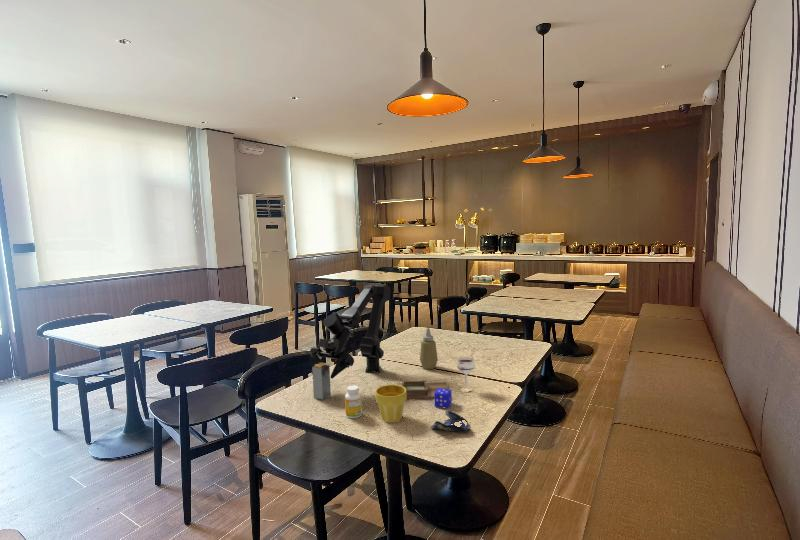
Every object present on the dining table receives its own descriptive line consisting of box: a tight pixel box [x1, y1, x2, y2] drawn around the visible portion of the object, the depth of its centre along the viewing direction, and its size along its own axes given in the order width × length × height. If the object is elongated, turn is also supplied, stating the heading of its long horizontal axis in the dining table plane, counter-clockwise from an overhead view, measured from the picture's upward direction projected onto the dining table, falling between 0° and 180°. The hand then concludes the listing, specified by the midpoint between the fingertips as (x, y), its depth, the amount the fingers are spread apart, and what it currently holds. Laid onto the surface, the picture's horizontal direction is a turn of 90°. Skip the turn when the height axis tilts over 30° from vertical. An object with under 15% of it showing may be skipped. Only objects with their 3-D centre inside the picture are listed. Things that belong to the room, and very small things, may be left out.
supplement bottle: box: [344, 385, 363, 419], centre depth 142 cm, size 5×5×10 cm
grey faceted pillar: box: [311, 362, 331, 401], centre depth 158 cm, size 4×4×13 cm
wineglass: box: [456, 356, 476, 389], centre depth 161 cm, size 7×7×12 cm
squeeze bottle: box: [419, 327, 439, 370], centre depth 188 cm, size 8×8×18 cm
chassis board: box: [396, 380, 449, 401], centre depth 161 cm, size 14×20×3 cm
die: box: [433, 388, 453, 409], centre depth 149 cm, size 5×5×5 cm
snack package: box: [430, 409, 471, 432], centre depth 131 cm, size 12×6×12 cm
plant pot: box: [374, 384, 407, 423], centre depth 139 cm, size 10×10×10 cm
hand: (321, 376), depth 158 cm, fingers open, 9 cm apart
